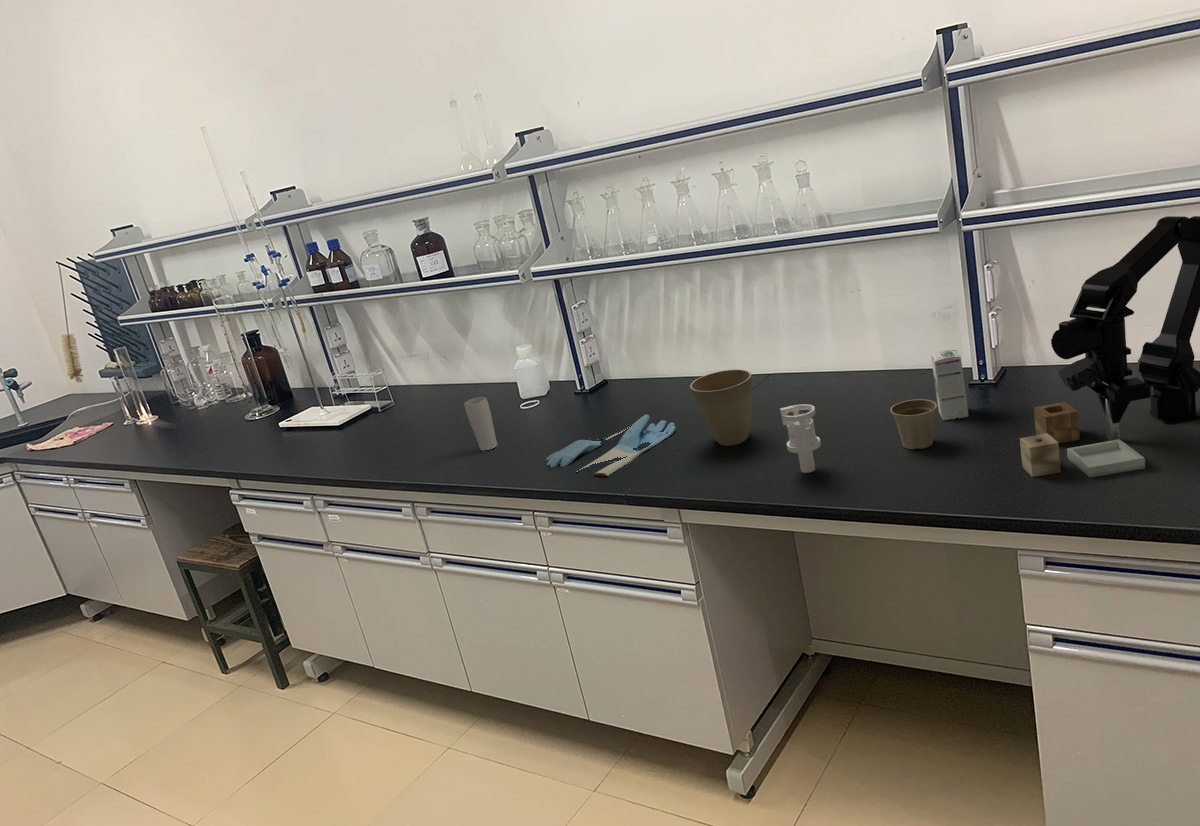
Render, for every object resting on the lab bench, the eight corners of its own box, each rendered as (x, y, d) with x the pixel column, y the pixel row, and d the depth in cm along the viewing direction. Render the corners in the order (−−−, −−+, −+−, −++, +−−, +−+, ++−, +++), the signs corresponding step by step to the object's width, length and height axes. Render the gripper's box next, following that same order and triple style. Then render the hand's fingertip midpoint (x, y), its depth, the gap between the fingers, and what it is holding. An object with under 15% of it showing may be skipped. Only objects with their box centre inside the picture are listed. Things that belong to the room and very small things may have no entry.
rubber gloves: (533, 469, 230) (527, 447, 228) (613, 422, 251) (608, 402, 249) (608, 480, 210) (602, 456, 208) (687, 428, 232) (683, 406, 230)
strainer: (789, 467, 191) (777, 403, 186) (820, 460, 190) (810, 396, 186) (794, 479, 184) (783, 414, 180) (828, 472, 184) (817, 406, 179)
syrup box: (969, 417, 194) (962, 355, 189) (941, 421, 195) (934, 360, 191) (964, 408, 199) (957, 348, 194) (937, 412, 200) (929, 353, 196)
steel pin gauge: (1116, 437, 168) (1114, 389, 165) (1121, 441, 166) (1119, 392, 163) (1105, 439, 168) (1102, 391, 165) (1110, 443, 166) (1107, 394, 163)
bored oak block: (1066, 429, 176) (1064, 401, 175) (1079, 439, 171) (1077, 411, 169) (1036, 434, 177) (1033, 407, 176) (1047, 445, 172) (1045, 417, 170)
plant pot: (705, 433, 223) (693, 375, 218) (763, 424, 219) (752, 365, 214) (700, 456, 209) (687, 394, 204) (761, 447, 205) (749, 384, 201)
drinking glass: (504, 443, 255) (491, 395, 250) (492, 452, 249) (478, 404, 244) (485, 444, 258) (471, 397, 253) (473, 453, 252) (459, 406, 248)
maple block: (1049, 462, 165) (1047, 432, 163) (1060, 472, 160) (1058, 442, 158) (1022, 467, 166) (1019, 437, 164) (1032, 477, 161) (1029, 447, 159)
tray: (1120, 449, 163) (1119, 439, 163) (1145, 468, 154) (1144, 458, 154) (1067, 458, 165) (1066, 448, 164) (1089, 477, 156) (1088, 467, 155)
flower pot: (948, 437, 186) (944, 399, 184) (930, 454, 180) (925, 416, 177) (906, 434, 193) (901, 398, 190) (887, 451, 187) (882, 414, 184)
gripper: (1042, 340, 171) (1048, 413, 176) (1084, 366, 154) (1090, 446, 158) (1102, 328, 170) (1107, 402, 174) (1151, 353, 152) (1155, 434, 157)
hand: (1112, 420), depth 166 cm, fingers closed on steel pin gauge, 2 cm apart
